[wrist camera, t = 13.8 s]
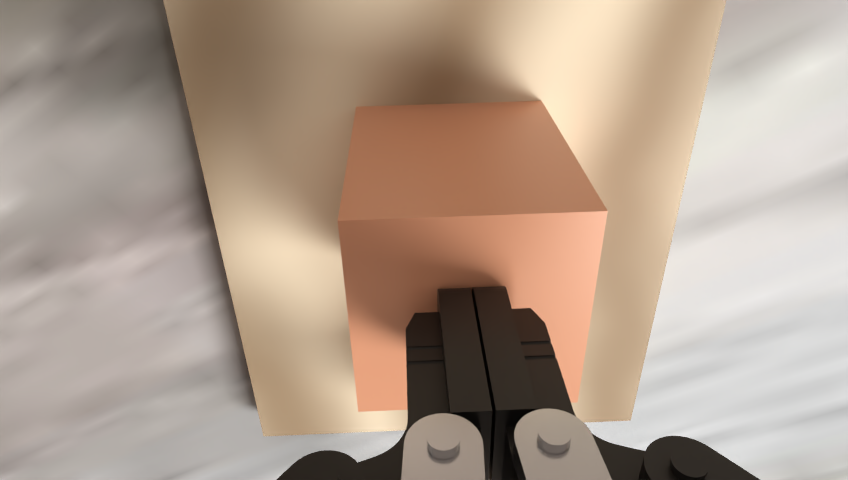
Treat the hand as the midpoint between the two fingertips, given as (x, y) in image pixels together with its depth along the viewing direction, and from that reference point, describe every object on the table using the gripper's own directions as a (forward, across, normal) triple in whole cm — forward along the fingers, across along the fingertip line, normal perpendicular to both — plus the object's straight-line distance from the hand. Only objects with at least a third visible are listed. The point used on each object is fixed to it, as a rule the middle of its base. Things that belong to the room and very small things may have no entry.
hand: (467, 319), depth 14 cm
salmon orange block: (+7, 0, 0) cm, 7 cm away
